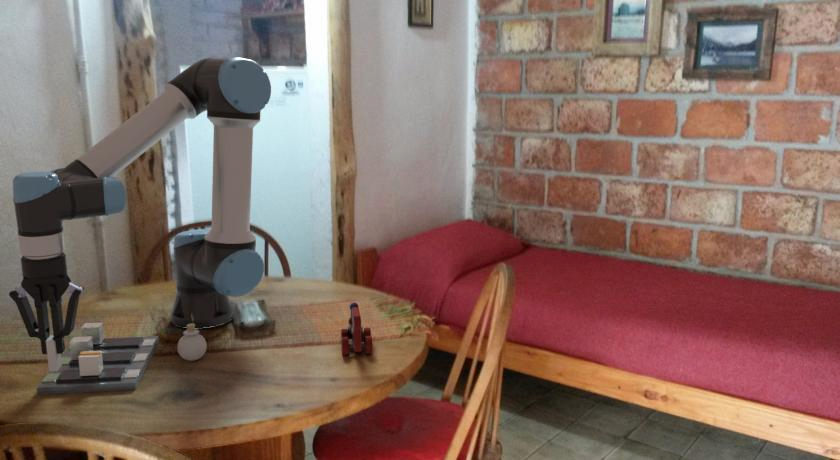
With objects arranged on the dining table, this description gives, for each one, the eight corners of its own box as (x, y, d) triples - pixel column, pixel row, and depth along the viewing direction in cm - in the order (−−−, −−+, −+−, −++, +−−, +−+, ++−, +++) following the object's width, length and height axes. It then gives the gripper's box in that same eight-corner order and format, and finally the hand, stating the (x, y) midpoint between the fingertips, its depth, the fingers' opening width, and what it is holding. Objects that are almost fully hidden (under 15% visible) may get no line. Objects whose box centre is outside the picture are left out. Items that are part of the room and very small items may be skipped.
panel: (159, 342, 157) (157, 316, 155) (135, 389, 134) (133, 360, 133) (75, 345, 154) (73, 319, 152) (37, 394, 131) (33, 364, 129)
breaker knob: (103, 368, 137) (101, 349, 136) (99, 375, 135) (97, 355, 134) (84, 369, 137) (82, 350, 136) (80, 376, 134) (78, 355, 133)
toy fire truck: (369, 338, 163) (369, 297, 160) (373, 359, 151) (373, 315, 148) (340, 339, 162) (340, 297, 159) (341, 360, 150) (341, 316, 147)
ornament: (176, 366, 145) (173, 322, 143) (181, 352, 152) (178, 310, 150) (205, 364, 146) (203, 321, 144) (209, 350, 153) (207, 308, 151)
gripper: (85, 248, 133) (95, 358, 139) (13, 249, 131) (27, 362, 137) (73, 258, 126) (85, 374, 132) (-3, 260, 124) (12, 378, 130)
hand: (55, 368), depth 134 cm, fingers closed
